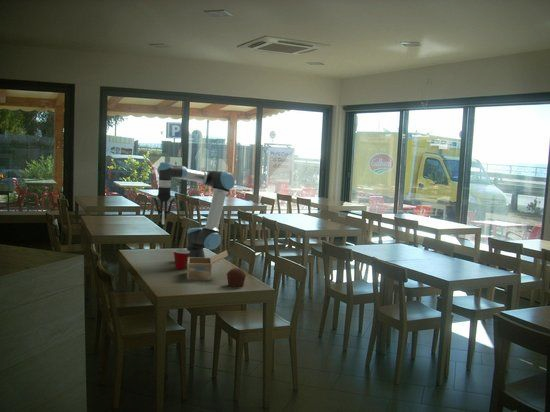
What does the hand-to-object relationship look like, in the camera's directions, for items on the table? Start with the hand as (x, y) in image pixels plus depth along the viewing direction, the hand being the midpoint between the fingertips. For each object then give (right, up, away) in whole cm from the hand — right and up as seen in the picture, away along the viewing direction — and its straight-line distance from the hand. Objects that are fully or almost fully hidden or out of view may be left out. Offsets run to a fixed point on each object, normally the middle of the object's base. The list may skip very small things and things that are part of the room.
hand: (163, 224), depth 364 cm
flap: (+32, -22, -10) cm, 40 cm away
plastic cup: (+10, -29, +10) cm, 33 cm away
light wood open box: (+24, -32, -10) cm, 41 cm away
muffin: (+48, -35, -29) cm, 66 cm away
